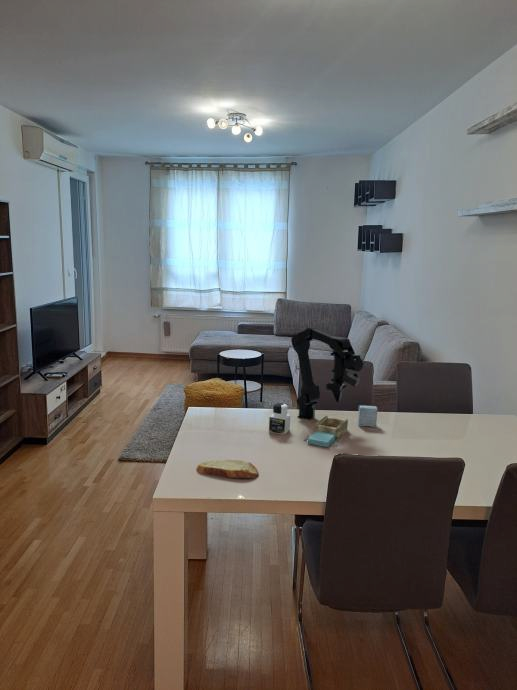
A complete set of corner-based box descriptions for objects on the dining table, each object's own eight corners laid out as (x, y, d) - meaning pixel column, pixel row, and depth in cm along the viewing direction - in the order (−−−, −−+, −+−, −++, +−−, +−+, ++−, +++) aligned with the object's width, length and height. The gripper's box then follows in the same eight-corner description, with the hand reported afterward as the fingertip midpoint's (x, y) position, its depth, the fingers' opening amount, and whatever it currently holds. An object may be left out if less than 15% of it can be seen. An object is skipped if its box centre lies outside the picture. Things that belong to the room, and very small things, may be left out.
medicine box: (375, 424, 239) (376, 406, 237) (376, 427, 234) (377, 409, 233) (357, 423, 239) (358, 405, 238) (358, 426, 235) (359, 407, 233)
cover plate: (307, 443, 211) (307, 438, 210) (316, 435, 221) (316, 430, 220) (327, 447, 207) (327, 442, 207) (335, 438, 217) (335, 434, 217)
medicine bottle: (268, 432, 223) (269, 405, 221) (274, 427, 229) (275, 401, 227) (284, 435, 220) (285, 407, 218) (289, 430, 227) (291, 403, 225)
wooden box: (314, 435, 221) (315, 423, 220) (325, 426, 234) (325, 415, 233) (337, 439, 217) (338, 427, 216) (347, 430, 229) (347, 418, 229)
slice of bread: (192, 469, 183) (192, 459, 183) (236, 459, 194) (236, 449, 193) (218, 489, 169) (218, 478, 168) (264, 477, 179) (264, 467, 178)
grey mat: (303, 440, 215) (303, 439, 215) (307, 436, 219) (307, 436, 219) (336, 446, 209) (336, 446, 209) (340, 442, 213) (340, 442, 213)
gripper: (352, 373, 215) (350, 410, 218) (363, 365, 232) (361, 399, 234) (326, 370, 220) (324, 406, 222) (339, 362, 236) (337, 396, 239)
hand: (337, 401), depth 229 cm, fingers closed
